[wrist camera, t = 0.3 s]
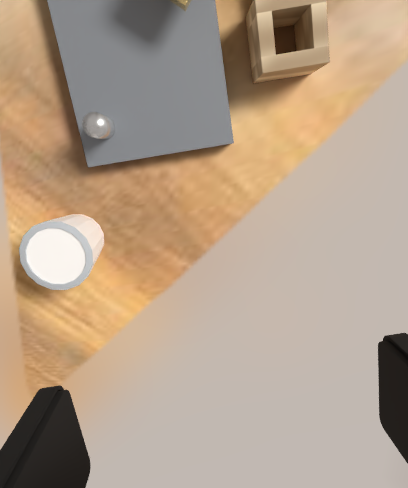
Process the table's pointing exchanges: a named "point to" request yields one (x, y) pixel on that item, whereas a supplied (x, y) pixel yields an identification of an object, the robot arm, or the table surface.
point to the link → (306, 35)
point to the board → (144, 75)
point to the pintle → (98, 125)
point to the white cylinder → (61, 251)
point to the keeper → (182, 3)
